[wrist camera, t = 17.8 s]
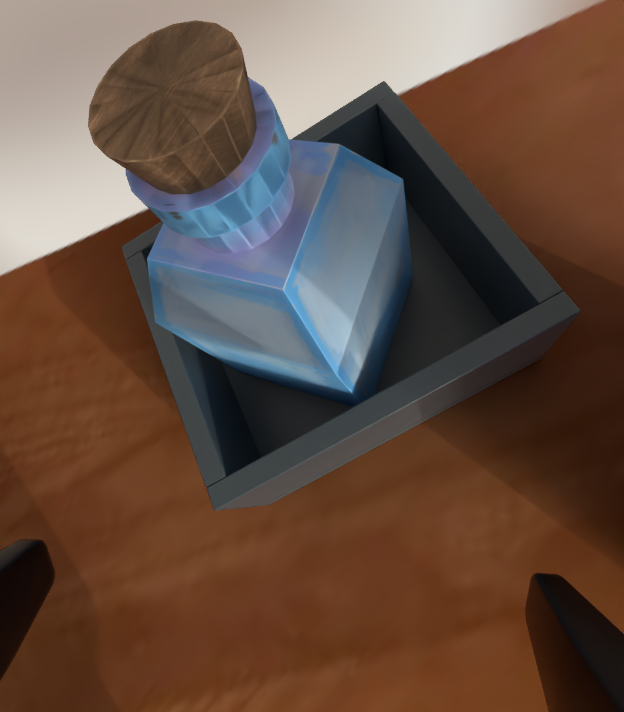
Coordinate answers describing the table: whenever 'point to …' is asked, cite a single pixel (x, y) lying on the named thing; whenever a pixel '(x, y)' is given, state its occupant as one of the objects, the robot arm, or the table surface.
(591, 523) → the table surface
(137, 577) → the table surface
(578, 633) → the robot arm
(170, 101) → the perfume bottle
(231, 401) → the open square box
